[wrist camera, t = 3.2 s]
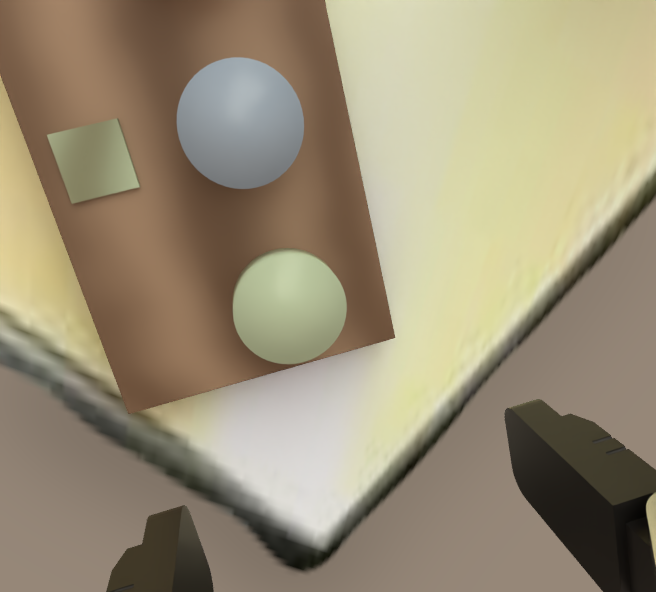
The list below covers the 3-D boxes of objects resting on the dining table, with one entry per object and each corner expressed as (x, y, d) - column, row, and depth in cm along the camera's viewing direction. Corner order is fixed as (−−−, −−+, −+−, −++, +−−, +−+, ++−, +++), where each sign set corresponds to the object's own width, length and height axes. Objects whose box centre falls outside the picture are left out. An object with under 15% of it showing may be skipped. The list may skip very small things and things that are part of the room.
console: (274, -171, 26) (281, -214, 22) (380, 320, 33) (396, 339, 30) (-46, -110, 24) (-86, -147, 21) (137, 388, 31) (127, 416, 28)
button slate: (283, 50, 24) (287, 44, 22) (311, 170, 25) (316, 172, 24) (163, 77, 23) (159, 73, 22) (199, 198, 25) (198, 202, 23)
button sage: (326, 235, 26) (332, 241, 25) (350, 335, 28) (357, 346, 26) (219, 264, 26) (218, 271, 24) (248, 363, 27) (250, 377, 26)
